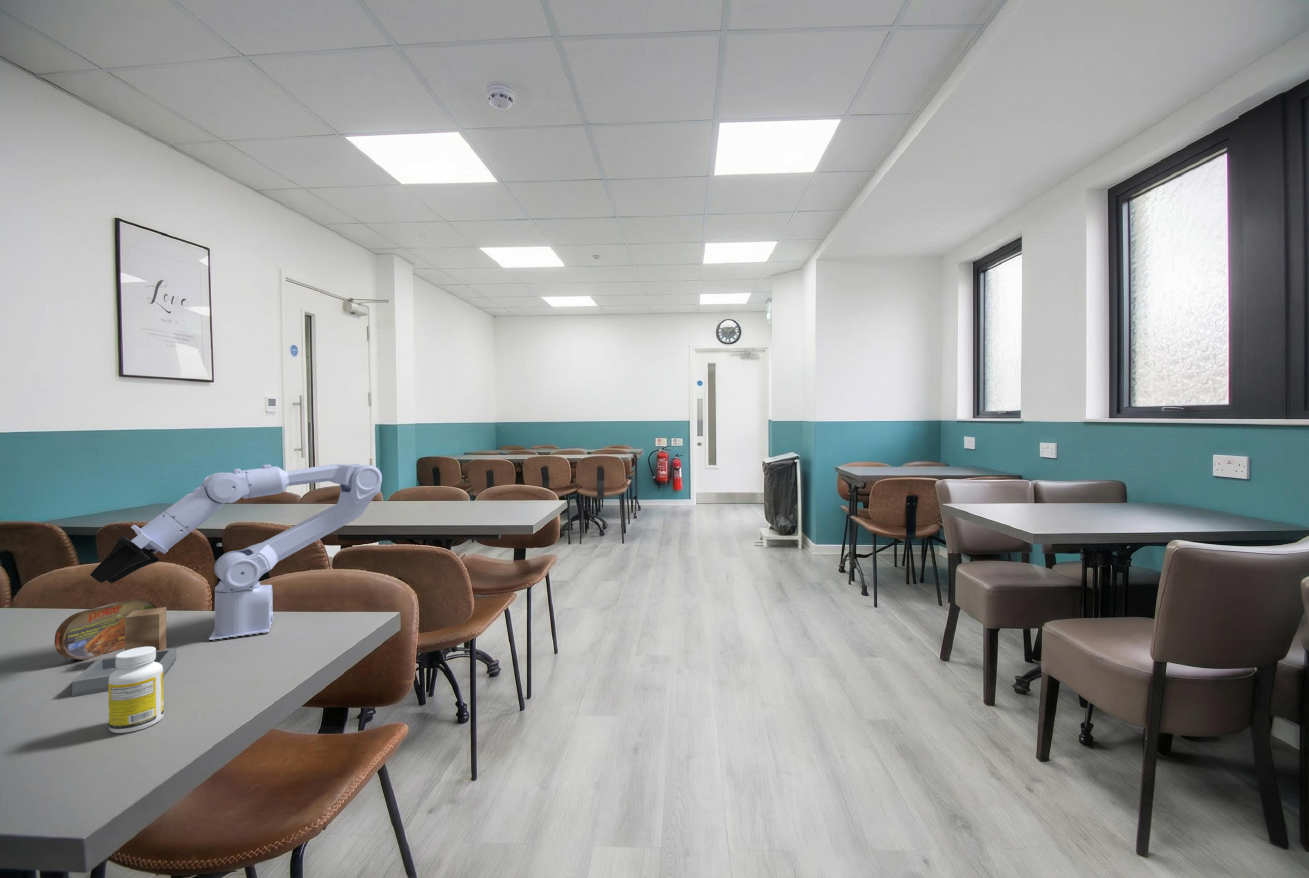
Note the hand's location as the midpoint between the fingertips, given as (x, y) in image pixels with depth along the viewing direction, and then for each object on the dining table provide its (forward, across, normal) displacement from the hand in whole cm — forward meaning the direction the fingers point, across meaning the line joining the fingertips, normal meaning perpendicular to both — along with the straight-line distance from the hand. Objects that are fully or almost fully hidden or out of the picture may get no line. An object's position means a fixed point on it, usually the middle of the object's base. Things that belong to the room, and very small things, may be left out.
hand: (101, 579), depth 97 cm
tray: (+7, +9, +16) cm, 20 cm away
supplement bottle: (+7, +30, +22) cm, 38 cm away
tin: (+9, -8, +9) cm, 15 cm away
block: (+5, 0, +15) cm, 16 cm away
